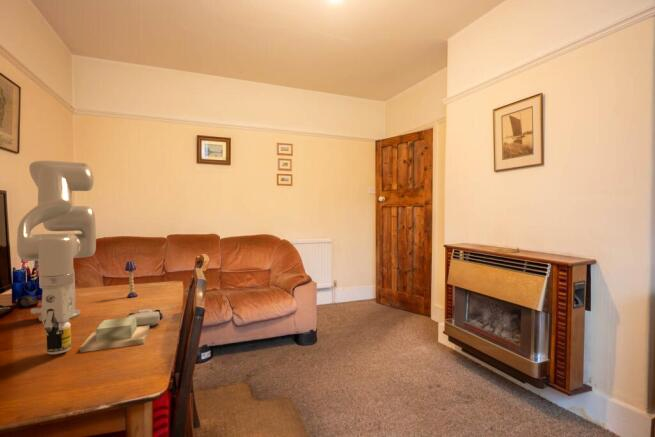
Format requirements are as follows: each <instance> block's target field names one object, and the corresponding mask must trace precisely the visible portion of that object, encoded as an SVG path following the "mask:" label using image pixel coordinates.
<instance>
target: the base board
mask: <svg viewBox="0 0 655 437" xmlns="http://www.w3.org/2000/svg"><path fill="white" fill-rule="evenodd" d="M95 329H96V330H95V331H92V332H91V334H90V335H89V336H88V337H87V338H86V340H84V342H83V343H82V345H80V346H79V352H80V353H85V352H93V351H100V350H101V351H102V350H106V349H114V348H123V347H130V346H137V345H143V344H145V343H146V342H145V341H146V339H147V337H148V334H149V332H150V329H151V328H150V326H149V325H143V326H139V327H137V325H136V317H128V316H127V317H119V318H110V319H103V321H102V322H101V323H100V324H99V325H98V326H97V328H95Z"/></svg>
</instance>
